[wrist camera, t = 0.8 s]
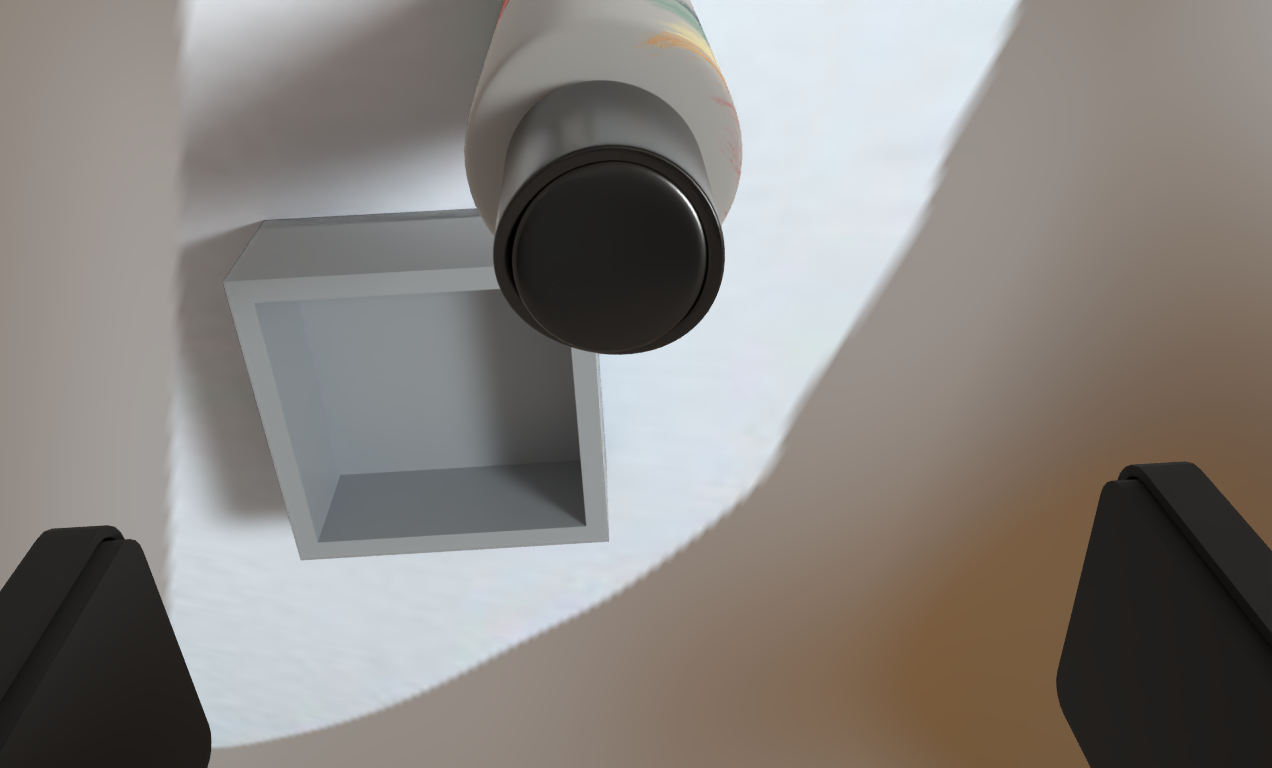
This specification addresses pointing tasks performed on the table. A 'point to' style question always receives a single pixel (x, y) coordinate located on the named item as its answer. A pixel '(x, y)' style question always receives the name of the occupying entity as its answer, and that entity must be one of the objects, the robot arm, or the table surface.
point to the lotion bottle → (604, 169)
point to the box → (413, 391)
